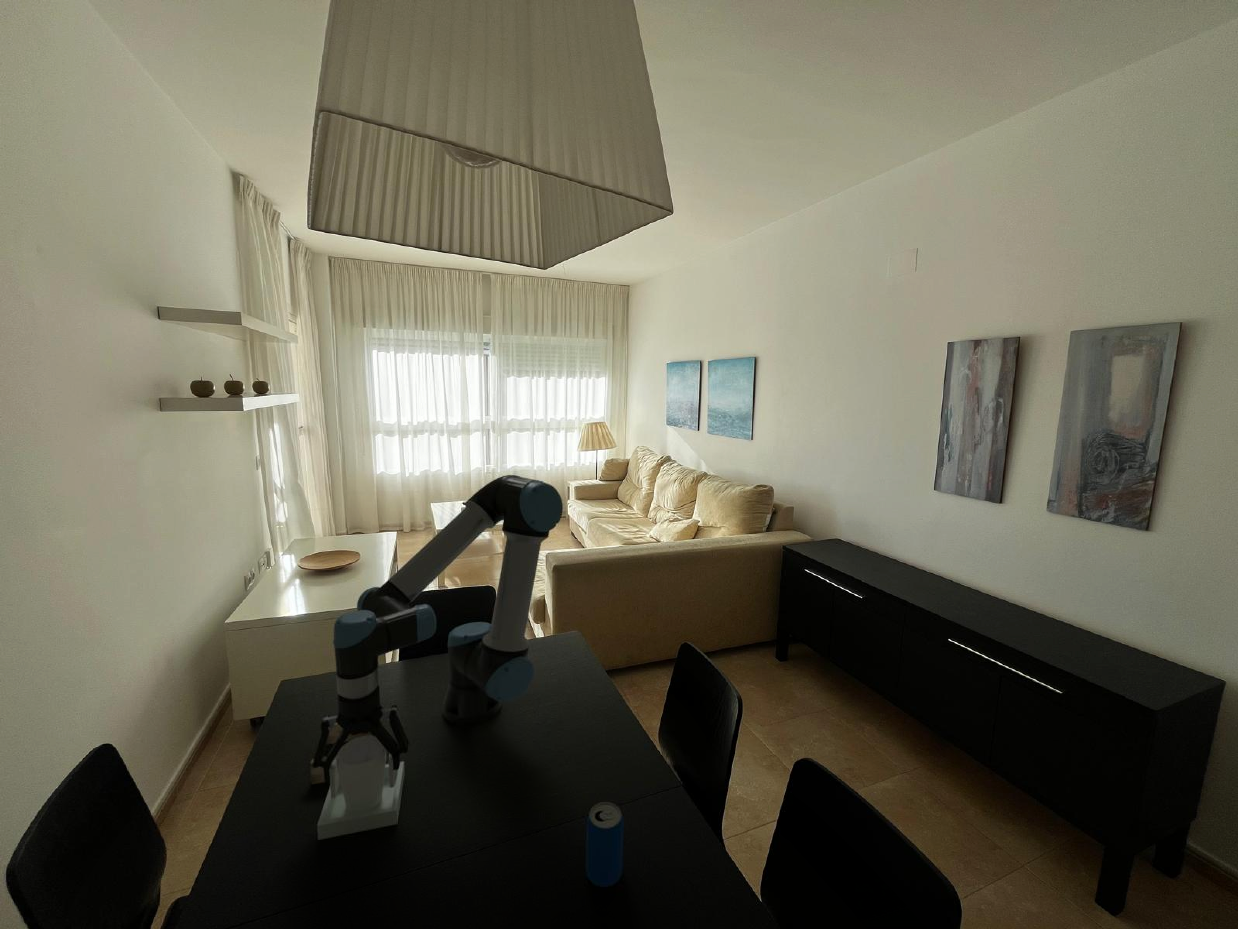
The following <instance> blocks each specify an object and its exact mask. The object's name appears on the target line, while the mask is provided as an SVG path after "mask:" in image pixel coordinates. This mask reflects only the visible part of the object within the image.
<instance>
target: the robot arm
mask: <svg viewBox="0 0 1238 929" xmlns="http://www.w3.org/2000/svg"><path fill="white" fill-rule="evenodd" d="M563 506H564V505H563V499H562V496H561V495H560V493H559V492H558V490H557V488H556V487H555V486H553V485H552V484H549V483H547V482H544V481H542V480H538V479H534V478H533V479H532V478H528V477H527V478H526V477H523V476H520V475H515V474H507V475H502V476H500V477H497V478H495V479H493V480H492V481H489V482H488V483H487V484H485V485H484V486H482V487H481V488H480V489H478V491H476V492H475V493H474V494H473V495H472V496H471V497H470V498H468V499H467V500H466V501H465V508H463V510H461V511H460V512H459V513H458V514H457V515H456V516H455V517H454V518H453V519H452V520H450V522H449V523H447V525H445V526H444V527H443V528H442V529H441V530H440V531H439V532H438V533H437V534H436V535H435V536H433V537H432V539H431V540H429V541H428V542H427V543H426V544H425V545H424V546H423V547H422V548H421V549H420V550H419V551H417V553H416V554H415V555H413V556H412V557H411V558H410V559H409V560H408V561H407V562H406V563H404V565H402V567H400V568H399V569H398V570H397V571H396V572H395V573H394V574H393V575H392V576H391V577H390V578H389V579H388V580H387V581H385V582H384V583H383V584H382V585H381V586H380V587H379V586H373V587H370V588H368V589H366V590H365V591H363V592H362V593H361V594H360V596H359V597H358V600H357V603H356V608H357V610H353V611H349V612H346V613H344V614H341V615H339V617H338V618H337V619H336V620H335V622H334V626H333V642H332V643H333V647H334V657H335V658H334V659H335V671H336V672H335V674H336V692H337V707H338V708H337V710H338V713H337V715H333V716H331V715H330V714H325V715H324V716H323V718H322V721H321V723H320V730H321V734H320V739H319V741H318V745H317V747H316V753H315V756H314V758H313V759H314V762H313V765H312V766H313V768H318V767H322V768H323V769H324V780H325V782H324V783H329V784H330V785H329V788H330V787H331V799H332V798H336V794H337V791H338V773H337V760H334V758H335V757H336V755H338V752H339V750H340V749H341V747H342V746H344V743H346V742H345V741H346V739H347V737H348V736H349V734H352V735H357V734H359V733H363V734H365V733H369V732H370V733H371V734H372V735H373V736H375V737H376V738H377V739H378V740H379V741H380V743H381V744H382V745H383V746H384V747H385V750H386V752H388V753H389V755H388V764H389V780H390V788H392V787H394V783H395V770H398V769H399V767H400V762H401V754H406V753H407V752H408V751H409V744H410V742H409V740H408V737H407V735H406V732H405V729H404V727H403V725H402V723H401V721H400V718H399V716H398V706H397V705H396V704H393V705H391V707H387V708H383V706H382V705H381V696H380V695H381V694H380V692H381V691H380V685H379V683H380V676H379V675H380V674H379V657H380V656H383V655H386V654H388V653H390V652H391V653H392V652H394V651H397V650H401V649H403V648H407V647H409V646H412V645H415V644H420V642H422V641H424V640H428V639H429V638H432V637H433V636H434V635H435V633H436V631H437V617H436V614H435V611H434V609H433V608H432V606H431V605H430V604H427V603H422V604H421V603H420V604H415V605H414V606H410V605H411V603H412V602H413V601H414V600H415V599H416V598H417V597H418V596H419V595H420V594H421V593H422V592H423V591H424V590H426V588H427V587H429V586H430V584H432V583H433V581H435V580H436V579H437V578H438V577H439V576H440V574H442V573H443V572H444V571H445V570H446V569H447V568H448V567H449V566H450V565H451V564H452V563H453V562H455V560H456V559H457V558H458V557H459V556H460V555H462V553H463V552H464V551H465V550H466V549H467V548H469V546H470V545H471V544H473V542H475V540H476V539H477V538H479V537H480V536H481V535H482V533H484V532H485V530H486V529H493V528H494V527H495V526H496V525H498V523H500V522H502V521H503V522H502V528H501V531H502V532H503V534H504V535H505V538H506V541H505V548H504V552H503V556H502V557H503V558H502V564H501V569H500V574H499V580H498V585H497V590H496V596H495V602H494V603H495V604H494V608H493V614H492V619H491V623H489V622H486V621H476V622H475V621H474V622H468V623H465V624H461V625H459V626H456V627H454V629H452V630H451V631H450V632H449V634H448V638H447V639H448V640H447V657H448V658H447V659H448V661H447V662H448V680H449V681H448V686H447V689H446V693H445V696H444V698H443V702H442V714H443V717H444V719H445V720H447V721H448V722H449V723H452V724H454V725H459V726H471V725H478V724H482V723H484V722H486V721H489V719H492V718H493V717H495V716H496V714H498V712H499V711H500V710H501V707H502V703H510V702H512V701H514V700H516V699H519V697H521V695H522V694H523V693H524V692H525V691H527V689H528V688H529V687H530V686H531V685H530V684H531V683H532V681H533V678H534V675H535V666H534V663H532V661H531V659H530V658H529V657H528V655H529V654H528V653H529V648H530V642H529V640H528V639H527V638H526V636H525V635H526V631H527V625H528V620H529V614H530V609H531V608H530V607H531V601H532V596H533V591H534V587H535V586H534V585H535V580H536V575H537V574H536V573H537V568H538V563H539V558H540V551H541V546H542V543H543V542H544V541H546V539H548V538H549V535H550V531H551V530H553V529H555V528H556V527H557V524H559V523H560V522H561V518H562V516H563V510H564V509H563V508H564V507H563ZM382 717H384V718H385V719H386V721H388V722H389V725H390V728H391V731H392V732H393V735H394V737H395V739H396V740H395V739H394V737H393V736H392V735H391V734H390V733H389V731H388V730H387V729H386V728H385V726H383V724H382V720H381V721H380V718H381V719H382ZM335 723H337V724H338V725H339V726H341V727H342V728H343V730H342V732H341V733H340V735H339V737H338V738H337V740H336V742H335V743H334V744H332V747H331V748H330V750H329V752H328V754H326V756H323V755H324V754H325V753H324V752H325V748H326V746H327V745H326V743H327V739H328V736H329V732H330V729H332V728H333V726H334V724H335Z"/></svg>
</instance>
